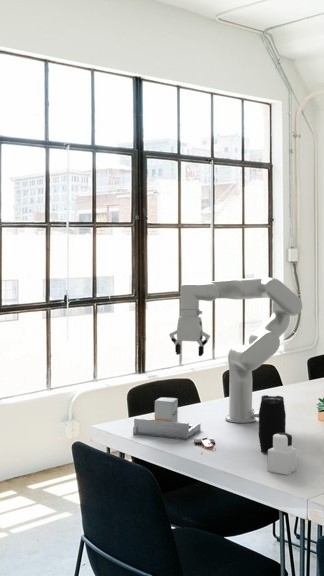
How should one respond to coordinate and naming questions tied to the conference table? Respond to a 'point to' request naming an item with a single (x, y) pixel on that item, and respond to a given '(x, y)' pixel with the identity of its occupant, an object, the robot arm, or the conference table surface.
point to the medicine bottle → (282, 455)
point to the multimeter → (205, 442)
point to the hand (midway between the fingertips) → (189, 355)
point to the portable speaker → (271, 420)
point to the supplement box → (166, 409)
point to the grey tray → (164, 428)
